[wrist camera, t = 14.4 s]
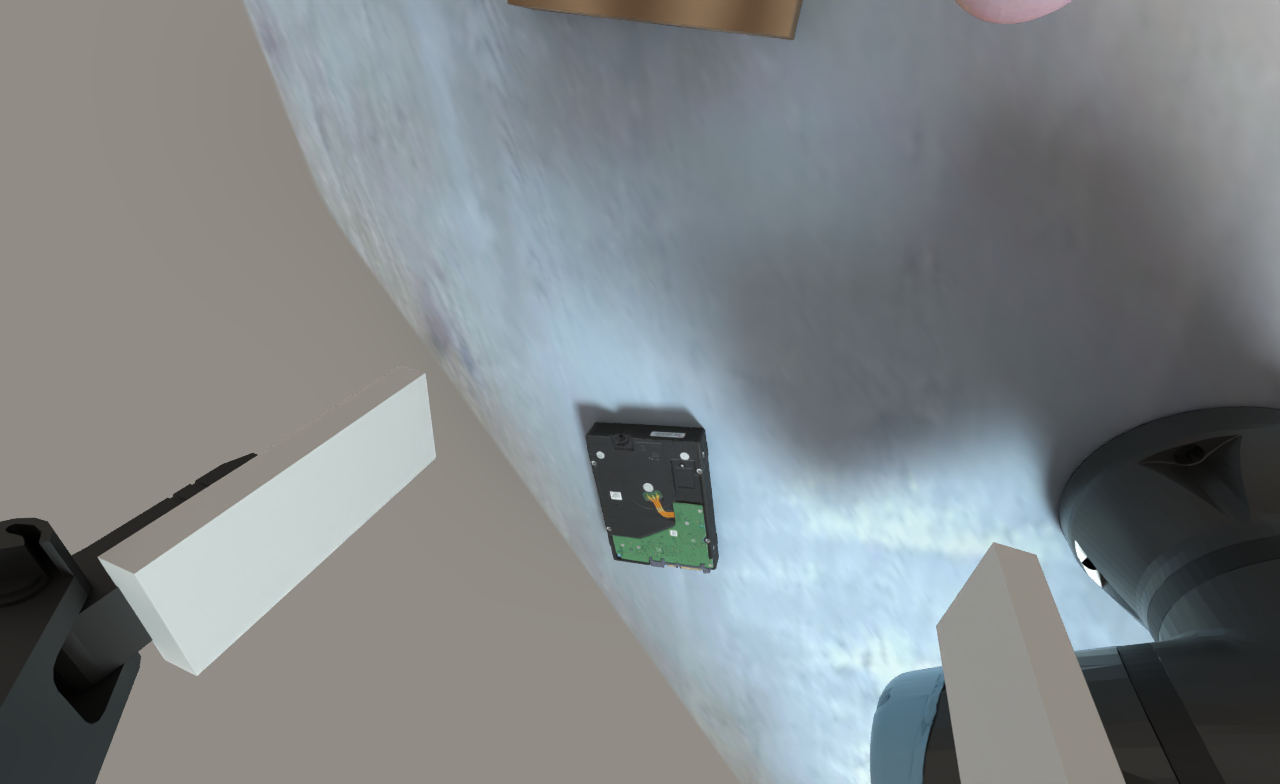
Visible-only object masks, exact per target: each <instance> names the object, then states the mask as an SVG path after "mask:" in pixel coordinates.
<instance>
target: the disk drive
mask: <svg viewBox="0 0 1280 784" xmlns="http://www.w3.org/2000/svg"><path fill="white" fill-rule="evenodd" d="M585 437H586V441H587V449H588V453H589V457H590V461H591V462H592V463H591V464H592V469H593V474H594V477H595V481H596V485H597V490H598V494H599V498H600V502H601V507H602V511H603V516H604V520H605V525H606V528H607V532H608V538H609V543H610V546H611V549H612V554H613V558H614V560H617V561H625V562H631V563H638V564H644V565H651V566H654V567H662V568H664V565H665V564H666V565H668V566H670V567H676V568H678V566H680V569H681V568H684V569H692V570H699V571H701V569H702V570H703V573H710V570H715V569H716V566H717V562H718V558H719V555H718V546H717V543H718V540H717V533H716V527H715V517H714V508H713V499H712V489H711V482H710V471H709V462H708V447H707V442H706V435H705V429H704V428H690V427H674V426H657V425H639V424H637V425H636V424H622V423H598V422H596V423H594V425H593V426H592V428H591V429H590V430H589V432H588V433H587V435H586V436H585Z"/></svg>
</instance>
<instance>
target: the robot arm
mask: <svg viewBox="0 0 1280 784" xmlns="http://www.w3.org/2000/svg"><path fill="white" fill-rule="evenodd" d="M435 458H436V453H435V446H434V438H433V430H432V423H431V414H430V406H429V398H428V390H427V382H426V374H425V373H424V372H421V371H417V370H414V369H411V368H407V367H404V366H400V365H399V366H398V367H396V368H395V369H393V370H391V371H390V372H388V373H387V374H385V375H383V376H382V377H380V378H379V379H377V380H376V381H374V382H372V383H371V384H370V385H368V386H366V387H365V388H363V389H361V390H360V391H358V392H357V393H355V394H353V395H352V396H350V397H349V398H347V399H346V400H344V401H342V402H341V403H339V404H338V405H336V406H335V407H333V408H331V409H330V410H328V411H327V412H325V413H324V414H322V415H321V416H319V417H317V418H316V419H314V420H313V421H311V422H309V423H308V424H306V425H305V426H303V427H301V428H300V429H298V430H297V431H295V432H294V433H292V434H290V435H289V436H287V437H286V438H284V439H283V440H281V441H279V442H278V443H276V444H275V445H273V446H272V447H270V448H269V449H267V450H265V451H264V452H262V453H261V454H259V455H257V454H254V453H251V454H249V455H246V456H243V457H241V458H238V459H235V460H232V461H230V462H227V463H224V464H222V465H220V466H219V467H217V468H215V469H214V470H212V471H210V472H209V473H207V474H205V475H204V476H202V477H201V478H199V479H197V480H196V481H195V484H193V485H191V484H189V485H188V486H186V487H185V488H183V489H181V490H180V491H178V492H176V493H175V494H173V497H172V498H166V499H165V500H163V501H161V502H160V503H158V504H157V505H155V506H153V507H152V508H150V509H149V510H147V511H145V512H143V513H142V514H140V515H139V516H137V517H135V518H134V519H132V520H130V521H129V522H128V523H126V524H124V525H122V526H121V527H119V528H117V529H116V530H114V531H113V532H111V533H109V534H108V535H106V536H104V537H103V538H101V539H100V540H98V541H96V542H95V543H93V544H91V545H90V546H88V547H86V548H85V549H83V550H81V551H79V552H77V553H75V554H73V555H72V556H71V554H70V553H69V552H68V550H67V549H66V547H65V546H64V544H63V543H62V542H61V540H60V539H59V537H58V536H57V534H56V533H55V532H54V530H53V529H52V527H51V526H50V524H49V523H48V522H47V521H44V520H40V519H37V518H16V519H10V520H6V521H2V522H0V784H95V783H96V780H97V777H98V775H99V772H100V770H101V767H102V764H103V762H104V759H105V756H106V754H107V751H108V748H109V746H110V743H111V741H112V738H113V735H114V733H115V730H116V728H117V725H118V723H119V720H120V717H121V715H122V712H123V709H124V707H125V704H126V702H127V699H128V696H129V694H130V691H131V689H132V686H133V684H134V681H135V678H136V676H137V673H138V671H139V668H140V660H141V656H140V654H139V653H138V651H139V650H141V649H142V648H143V647H144V646H145V645H147V644H148V643H149V642H151V641H153V643H154V644H155V646H156V647H157V649H158V650H159V652H160V653H161V655H162V656H163V658H164V660H166V661H168V662H170V663H172V664H174V665H176V666H178V667H180V668H182V669H184V670H186V671H188V672H190V673H192V674H194V675H196V676H198V675H199V674H200V673H201V672H202V671H203V670H204V669H205V668H206V667H207V666H208V665H209V664H211V663H212V662H213V661H214V660H215V659H216V658H217V657H218V656H219V655H220V654H222V653H223V652H224V651H225V650H226V649H227V648H228V647H229V646H230V645H231V644H233V643H234V642H235V641H236V640H237V639H238V638H239V637H240V636H241V635H242V634H244V632H246V631H247V630H248V629H249V628H250V627H251V626H252V625H253V624H254V623H256V622H257V621H258V620H259V619H260V618H261V617H262V616H263V615H264V614H265V613H267V612H268V611H269V610H270V609H271V608H272V607H273V606H274V605H275V604H276V603H277V602H279V600H281V599H282V598H283V597H284V596H285V595H286V594H287V593H288V592H289V591H291V590H292V589H293V588H294V587H295V586H296V585H297V584H298V583H299V582H300V581H302V580H303V579H304V578H305V577H306V576H307V575H308V574H309V573H310V572H311V571H312V570H314V569H315V568H316V567H317V566H318V565H319V564H320V563H321V562H322V561H323V560H324V559H326V558H327V557H328V556H329V555H330V554H331V553H332V552H333V551H334V550H335V549H336V548H338V547H339V546H340V545H341V544H342V543H343V542H344V541H345V540H346V539H347V538H348V537H350V536H351V535H352V534H353V533H354V532H355V531H356V530H357V529H358V528H359V527H361V526H362V525H363V524H364V523H365V522H366V521H367V520H368V519H369V518H370V517H371V516H373V515H374V514H375V513H376V512H377V511H378V510H379V509H380V508H381V507H382V506H383V505H384V504H386V503H387V502H388V501H389V500H390V499H391V498H392V497H393V496H395V495H396V494H397V493H398V492H399V491H400V490H401V489H402V488H403V487H404V486H405V485H407V484H408V483H409V482H410V481H411V480H412V479H413V478H414V477H415V476H416V475H418V474H419V473H420V472H421V471H422V470H423V469H424V468H425V467H426V466H427V465H428V464H430V463H431V462H432V461H433V460H434V459H435ZM1059 518H1060V524H1061V528H1062V531H1063V533H1064V536H1065V538H1066V540H1067V542H1068V544H1069V546H1070V548H1071V550H1072V553H1073V555H1074V557H1075V558H1076V560H1077V562H1078V563H1079V564H1080V566H1081V567H1082V568H1083V570H1084V571H1085V572H1086V573H1087V575H1088V576H1089V577H1090V578H1091V579H1092V580H1093V581H1095V582H1096V583H1097V584H1098V585H1099V586H1100V587H1101V588H1102V589H1104V591H1105V592H1107V593H1108V594H1109V595H1110V596H1111V597H1112V598H1113V599H1114V600H1115V601H1116V602H1117V603H1118V604H1120V605H1121V606H1122V607H1123V608H1124V609H1125V610H1126V611H1127V612H1128V613H1129V614H1131V615H1132V616H1133V617H1134V618H1135V619H1136V620H1137V621H1138V622H1139V623H1140V624H1141V625H1143V626H1144V627H1145V628H1146V629H1147V630H1148V631H1149V632H1150V634H1151V635H1152V637H1153V639H1154V641H1155V642H1152V643H1144V644H1135V645H1126V646H1112V647H1104V648H1096V649H1088V650H1079V651H1074V650H1073V647H1072V645H1071V642H1070V640H1069V637H1068V635H1067V632H1066V630H1065V627H1064V625H1063V622H1062V619H1061V617H1060V614H1059V612H1058V609H1057V607H1056V604H1055V602H1054V599H1053V596H1052V594H1051V591H1050V589H1049V586H1048V584H1047V581H1046V579H1045V576H1044V573H1043V571H1042V568H1041V566H1040V563H1039V561H1038V558H1037V556H1036V555H1035V554H1031V553H1028V552H1025V551H1021V550H1018V549H1015V548H1011V547H1008V546H1004V545H1001V544H998V543H994V542H993V544H992V545H991V546H990V548H989V549H988V551H987V552H986V554H985V555H984V557H983V558H982V560H981V561H980V563H979V564H978V566H977V567H976V569H975V570H974V571H973V573H972V574H971V576H970V577H969V579H968V580H967V582H966V583H965V585H964V586H963V588H962V589H961V591H960V592H959V594H958V595H957V596H956V598H955V599H954V601H953V602H952V604H951V605H950V607H949V608H948V610H947V611H946V613H945V614H944V616H943V617H942V619H941V620H940V621H939V623H938V624H937V626H936V628H937V634H938V641H939V647H940V653H941V660H942V666H940V667H934V668H928V669H922V670H916V671H910V672H906V673H903V674H901V675H899V676H897V677H895V678H894V679H893V680H892V681H890V683H889V684H888V685H887V686H886V687H885V689H884V690H883V692H882V695H881V696H880V698H879V702H878V706H877V710H876V713H875V714H874V719H873V725H872V732H871V745H870V774H871V784H1280V410H1277V409H1269V408H1257V407H1228V408H1214V409H1205V410H1198V411H1192V412H1187V413H1182V414H1178V415H1174V416H1170V417H1166V418H1163V419H1159V420H1156V421H1153V422H1150V423H1147V424H1145V425H1142V426H1140V427H1137V428H1135V429H1133V430H1130V431H1128V432H1126V433H1124V434H1122V435H1120V436H1118V437H1117V438H1115V439H1113V440H1111V441H1110V442H1108V443H1107V444H1105V445H1104V446H1102V447H1101V448H1099V449H1098V450H1097V451H1095V452H1094V453H1093V454H1092V455H1090V456H1089V457H1088V458H1087V459H1086V460H1085V461H1084V462H1083V463H1082V464H1081V465H1080V466H1079V467H1078V468H1077V470H1076V471H1075V472H1074V473H1073V475H1072V476H1071V478H1070V479H1069V481H1068V483H1067V485H1066V486H1065V489H1064V491H1063V494H1062V497H1061V501H1060V507H1059Z"/></svg>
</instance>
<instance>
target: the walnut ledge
mask: <svg viewBox="0 0 1280 784" xmlns="http://www.w3.org/2000/svg"><path fill="white" fill-rule="evenodd" d="M508 4H511V5H515V6H520V7H524V8H529V9H534V10H542V11H551V12H559V13H568V14H577V15H585V16H594V17H602V18H611V19H619V20H628V21H636V22H645V23H653V24H662V25H671V26H679V27H688V28H696V29H705V30H713V31H722V32H730V33H739V34H747V35H756V36H764V37H773V38H782V39H790V40H794V36H795V31H796V27H797V22H798V18H799V13H800V9H801V4H802V0H508Z"/></svg>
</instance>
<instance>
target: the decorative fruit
mask: <svg viewBox="0 0 1280 784" xmlns="http://www.w3.org/2000/svg"><path fill="white" fill-rule="evenodd" d="M955 1H956V2H957V3H958V4H959V5H960V6H961V7H962V8H963V9H964V10H965V11H967V12H968V13H970V14H971V15H973V16H975V17H977V18H979V19H981V20H984V21H988V22H993V23H1002V24H1015V23H1021V22H1027V21H1031V20H1033V19H1036V18H1039V17H1042V16H1045V15H1047V14H1049V13H1051V12H1054V11H1056V10H1058V9H1060V8H1062V7H1063V6H1065V5H1066V4H1068V3H1069V2H1071V1H1072V0H955Z"/></svg>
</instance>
